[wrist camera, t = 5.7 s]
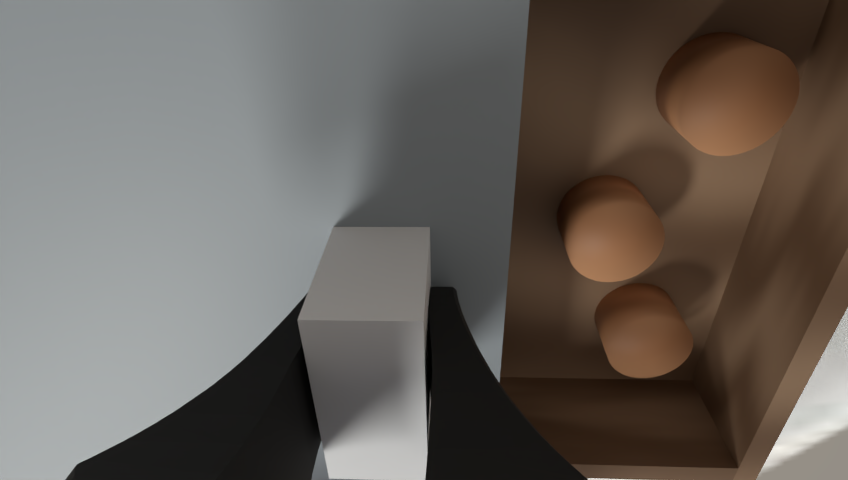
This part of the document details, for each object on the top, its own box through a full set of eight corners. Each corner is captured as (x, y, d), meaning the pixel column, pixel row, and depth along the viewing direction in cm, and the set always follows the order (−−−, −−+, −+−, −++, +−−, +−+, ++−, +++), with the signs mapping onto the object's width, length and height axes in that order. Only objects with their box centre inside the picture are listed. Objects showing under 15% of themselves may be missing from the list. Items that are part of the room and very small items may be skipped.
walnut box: (698, 379, 23) (754, 482, 19) (306, 372, 24) (275, 469, 20) (874, -96, 14) (1066, -104, 9) (214, -78, 14) (117, -78, 10)
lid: (488, 480, 19) (497, 613, 16) (23, 468, 20) (-73, 591, 17) (530, -102, 10) (581, -118, 6) (-365, -76, 11) (-809, -76, 7)
